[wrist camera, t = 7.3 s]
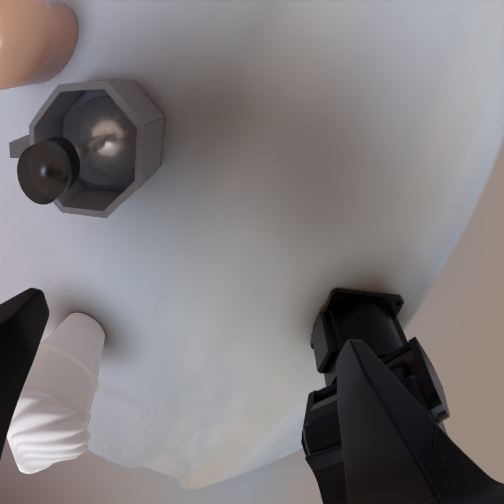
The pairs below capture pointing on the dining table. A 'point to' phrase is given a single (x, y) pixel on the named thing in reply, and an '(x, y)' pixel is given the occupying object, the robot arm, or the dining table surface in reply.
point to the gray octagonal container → (147, 141)
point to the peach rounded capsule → (34, 41)
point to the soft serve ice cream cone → (58, 396)
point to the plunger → (80, 152)
